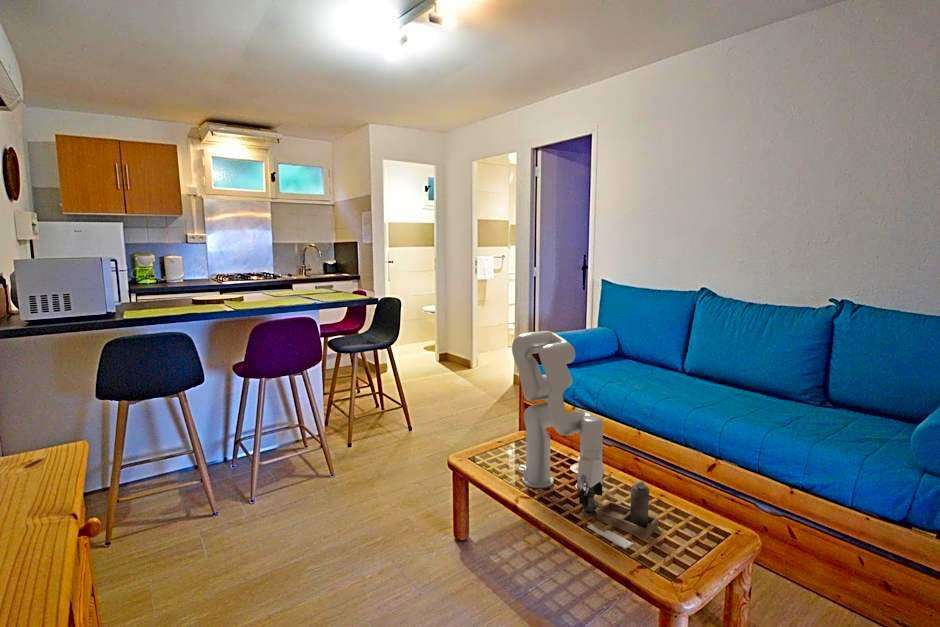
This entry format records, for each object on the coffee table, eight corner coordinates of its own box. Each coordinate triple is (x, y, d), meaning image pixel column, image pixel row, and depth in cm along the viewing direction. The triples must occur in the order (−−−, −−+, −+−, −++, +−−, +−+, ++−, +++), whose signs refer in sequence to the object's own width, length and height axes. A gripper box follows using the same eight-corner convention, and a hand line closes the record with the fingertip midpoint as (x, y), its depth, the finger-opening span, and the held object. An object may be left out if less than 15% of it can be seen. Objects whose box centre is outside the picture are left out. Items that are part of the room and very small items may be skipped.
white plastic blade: (597, 523, 166) (597, 520, 166) (635, 544, 154) (635, 541, 154) (587, 528, 163) (587, 525, 163) (624, 550, 151) (625, 547, 151)
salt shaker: (590, 518, 168) (591, 485, 167) (577, 511, 173) (578, 479, 171) (601, 513, 172) (602, 480, 170) (588, 506, 176) (589, 474, 175)
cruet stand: (596, 519, 168) (598, 473, 165) (609, 509, 174) (610, 464, 172) (646, 539, 156) (648, 490, 154) (657, 527, 162) (659, 480, 160)
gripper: (593, 442, 178) (593, 487, 180) (568, 457, 166) (568, 505, 167) (613, 447, 173) (612, 494, 175) (588, 462, 161) (587, 512, 162)
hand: (590, 499), depth 171 cm, fingers open, 9 cm apart
